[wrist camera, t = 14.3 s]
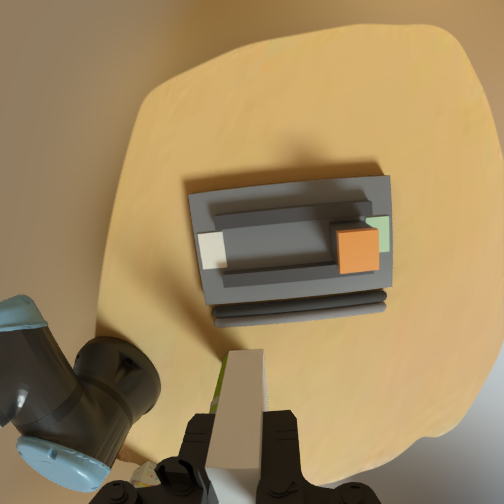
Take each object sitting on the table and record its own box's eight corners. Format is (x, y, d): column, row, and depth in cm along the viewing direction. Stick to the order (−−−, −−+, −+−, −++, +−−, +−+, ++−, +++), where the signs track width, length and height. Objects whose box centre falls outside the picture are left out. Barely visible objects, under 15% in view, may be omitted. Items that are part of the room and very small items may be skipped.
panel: (208, 298, 43) (203, 310, 40) (192, 193, 39) (184, 196, 36) (387, 281, 41) (396, 291, 37) (384, 175, 37) (394, 176, 34)
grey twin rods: (215, 324, 44) (213, 329, 43) (212, 305, 43) (210, 309, 42) (384, 308, 42) (387, 312, 40) (385, 288, 41) (388, 292, 40)
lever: (330, 256, 38) (340, 274, 32) (328, 222, 37) (338, 233, 31) (364, 253, 38) (379, 269, 32) (362, 219, 37) (378, 229, 31)
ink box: (182, 477, 55) (170, 520, 44) (164, 488, 57) (152, 527, 46) (148, 458, 54) (131, 500, 43) (132, 471, 56) (116, 509, 45)
